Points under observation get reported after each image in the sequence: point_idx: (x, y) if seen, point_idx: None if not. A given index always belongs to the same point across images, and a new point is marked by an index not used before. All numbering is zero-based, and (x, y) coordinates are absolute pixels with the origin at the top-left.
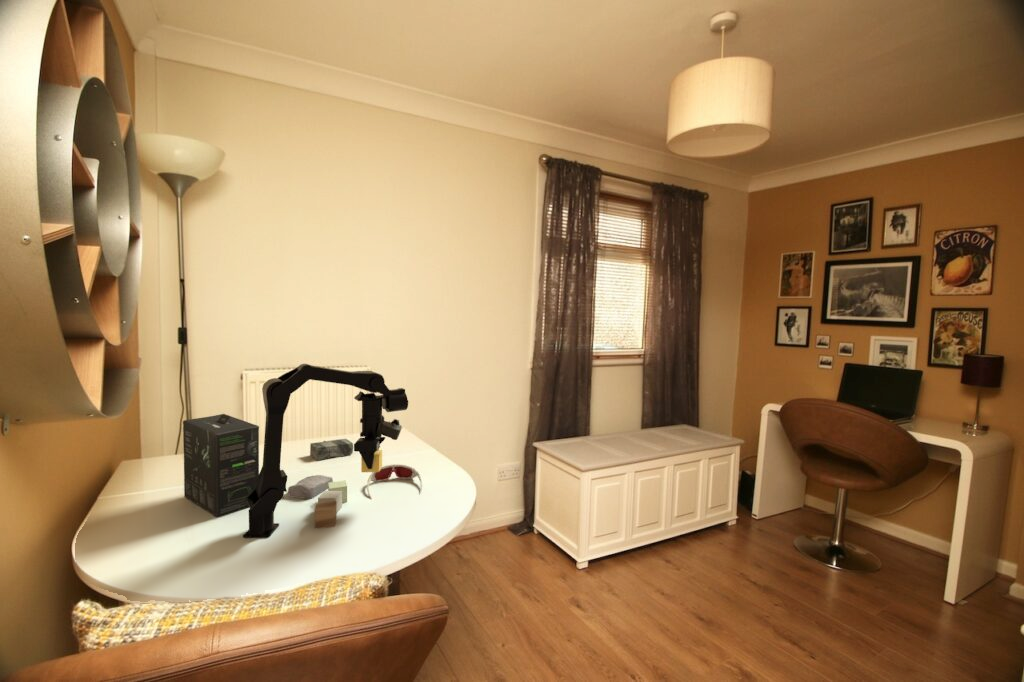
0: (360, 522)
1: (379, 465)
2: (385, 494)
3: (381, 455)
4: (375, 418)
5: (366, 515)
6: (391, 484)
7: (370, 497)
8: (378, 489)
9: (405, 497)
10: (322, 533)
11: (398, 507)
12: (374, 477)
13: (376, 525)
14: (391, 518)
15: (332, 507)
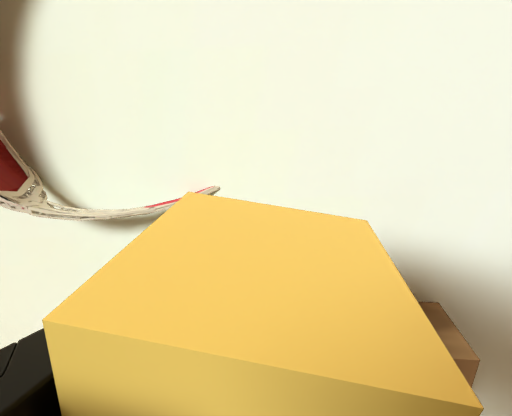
0: (444, 221)
1: (355, 247)
2: (171, 127)
3: (179, 273)
4: None
5: (382, 201)
6: (54, 101)
7: (209, 193)
8: (115, 161)
9: (218, 14)
10: (479, 333)
11: (339, 52)
12: (23, 189)
13: (508, 155)
14: (462, 85)
15: (461, 367)
